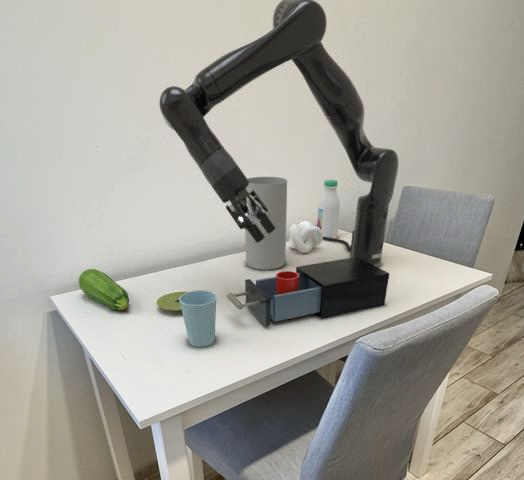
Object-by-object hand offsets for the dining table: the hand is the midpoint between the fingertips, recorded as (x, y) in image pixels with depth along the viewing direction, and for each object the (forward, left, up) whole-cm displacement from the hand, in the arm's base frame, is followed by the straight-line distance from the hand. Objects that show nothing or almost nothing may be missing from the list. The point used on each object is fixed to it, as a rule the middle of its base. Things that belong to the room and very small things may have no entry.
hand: (266, 235), depth 98 cm
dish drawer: (+5, 0, -17) cm, 18 cm away
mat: (-9, -20, -18) cm, 29 cm away
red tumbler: (+6, +3, -16) cm, 17 cm away
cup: (+10, -20, -18) cm, 29 cm away
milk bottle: (-46, +46, -18) cm, 67 cm away
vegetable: (-19, -37, -18) cm, 45 cm away
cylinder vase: (-29, +13, -18) cm, 36 cm away
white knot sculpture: (-36, +30, -18) cm, 50 cm away
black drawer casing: (+5, +18, -18) cm, 26 cm away
